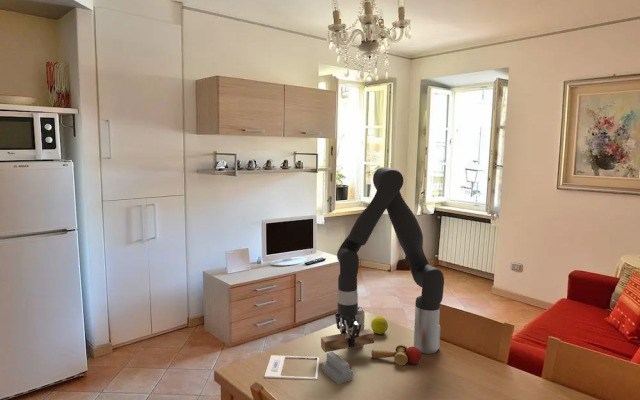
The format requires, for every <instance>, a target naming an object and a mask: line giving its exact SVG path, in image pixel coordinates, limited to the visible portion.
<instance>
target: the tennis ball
mask: <svg viewBox="0 0 640 400" xmlns="http://www.w3.org/2000/svg"><path fill="white" fill-rule="evenodd" d="M370 327H371V328H370V329H371V331H373V332H374V334H378V335H383V334H385V333H386V332H387V330H388V328H389V323H388V321H387V319H386V318H385V317H383V316H376V317H373V319H372V321H371V322H370Z"/></svg>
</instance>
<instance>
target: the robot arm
mask: <svg viewBox="0 0 640 400" xmlns="http://www.w3.org/2000/svg"><path fill="white" fill-rule="evenodd" d="M372 183H373V185H374V188H375V190H376V192H375V195H373V196H374V197H373V198H372V199H371V201H370V203H369V204H368V205H367V206H366V207H365V208H364V209H363V211H362V212H361V214H360V215H358V218H357V219H356V220H355V223H354V224H353V226H352V227H351V230H350V232H349V234H348V235H347V237H346V238H345V239H344V241H343V242H342V243H341V245H340V246H339V248H338V250H337V254H336V257H337V260H338V262H339V274H338V278H337V312H335V314H334V315H335V316H334V317H335V323H336V328H337V330H339V332H340V334H342V333H348V335H349V347H350V348H349V349H351V348H354V346H355V338H357V337H359V333H360V328H361V324H360V323H359V324H358V323H357V322H356V318H355V316H356V314H357V313H358V307H359V293H358V273H359V266H360V259H359V258H360V257H359V255H358V252H359V250H361V247H362V246H365V245H366V244H367V243H368V240H369V239H370V237H371V234H372V233H373V231H374V229H375V227H376V226H377V224H378V223H379V221H380V219H381V217H382V216H383V214H384V213H385V211H387V215H388V217H389V220H390V223H391V224H392V227H393V228H392V229H393V230H394V232H395V235H396V238H397V239H398V242H399V244H400V246H401V248H402V250H403V253H404V255H405V257H406V259H407V264H408V265H409V268H410V273H411V276H412V280H413V281H414V283H415V284H416V285H417V286H419V287H420V288H421V295H420V296H419V295H418V296H417V297H416V299H415V304H414V305H415V306H414V307H415V309H414V326H413V327H414V332H413V347H416V348H418V349H419V350H420V352H421V354H435V353H437V352H438V350H440V348H441V346H440V345H441V344H440V343H441V325H440V311H441V310H440V309H441V304H442V302H443V298H444V297H443V296H444V290H445V289H444V288H445V277H444V273H443V271H441V270H440V269H439V268H437V267H435V266H433V265H431V264H430V263H429V261H428V259H427V256H426V255H425V252H424V247H423V246H424V244H423V243H424V237H423V231H422V229H421V226H420V223H419V221H418V220H417V217H416V215H415V214H414V212H413V211H412V210H411V208H410V207H409V206H408V204H407V202H405V200H404V198H403V196H402V193H401V189H402V188H403V185H404V175H403V174H402V172H400V171H399V170H397V169H395V168H392V167H386V166H382V167H378V168H377V169H376V170H375V171H374V173H373V176H372ZM352 327H353V328H352ZM349 328H352V329H349ZM351 332H352V335H351Z"/></svg>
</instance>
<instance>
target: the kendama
mask: <svg viewBox="0 0 640 400" xmlns="http://www.w3.org/2000/svg"><path fill="white" fill-rule="evenodd" d="M386 358H393V359H394V362H395V364H396V365H398V366H405V365H407V363H409V364H412V365H415V364H418V363H419V362H420V361H421V360H422V353H421V352H420V350H419V349H418V348H416V347H414V345H413V346H409V347H407V346H406V345H405V344H398V345H396V347H395V351H391V350H376V349H372V350H371V359H386Z"/></svg>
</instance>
